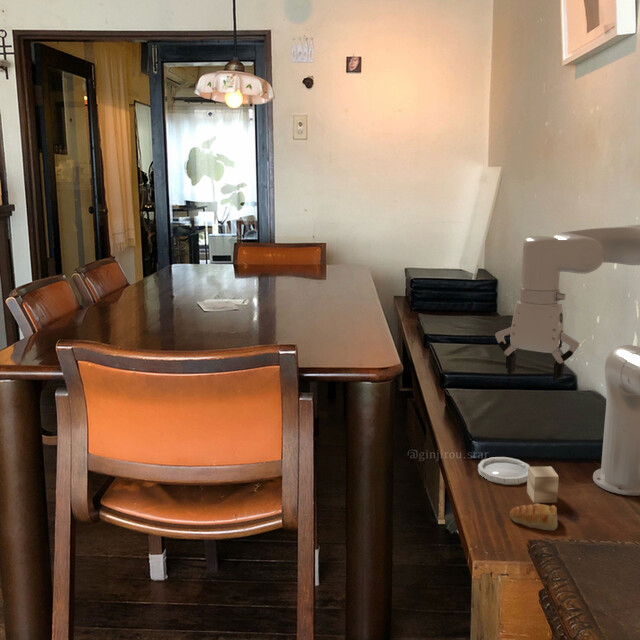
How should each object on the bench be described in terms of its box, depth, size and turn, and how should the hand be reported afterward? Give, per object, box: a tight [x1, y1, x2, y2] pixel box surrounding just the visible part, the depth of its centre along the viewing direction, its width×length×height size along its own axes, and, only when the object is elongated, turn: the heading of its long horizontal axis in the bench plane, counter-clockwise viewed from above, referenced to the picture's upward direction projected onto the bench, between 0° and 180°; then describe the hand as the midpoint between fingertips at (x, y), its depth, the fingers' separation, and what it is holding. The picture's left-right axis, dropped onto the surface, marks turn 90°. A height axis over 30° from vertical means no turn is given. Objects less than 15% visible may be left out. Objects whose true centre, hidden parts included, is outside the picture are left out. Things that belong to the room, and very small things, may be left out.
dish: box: [477, 456, 531, 486], centre depth 161 cm, size 12×12×1 cm
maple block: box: [526, 466, 560, 504], centre depth 149 cm, size 5×5×6 cm
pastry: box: [509, 503, 558, 531], centre depth 139 cm, size 9×7×4 cm
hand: (533, 376), depth 147 cm, fingers open, 9 cm apart
